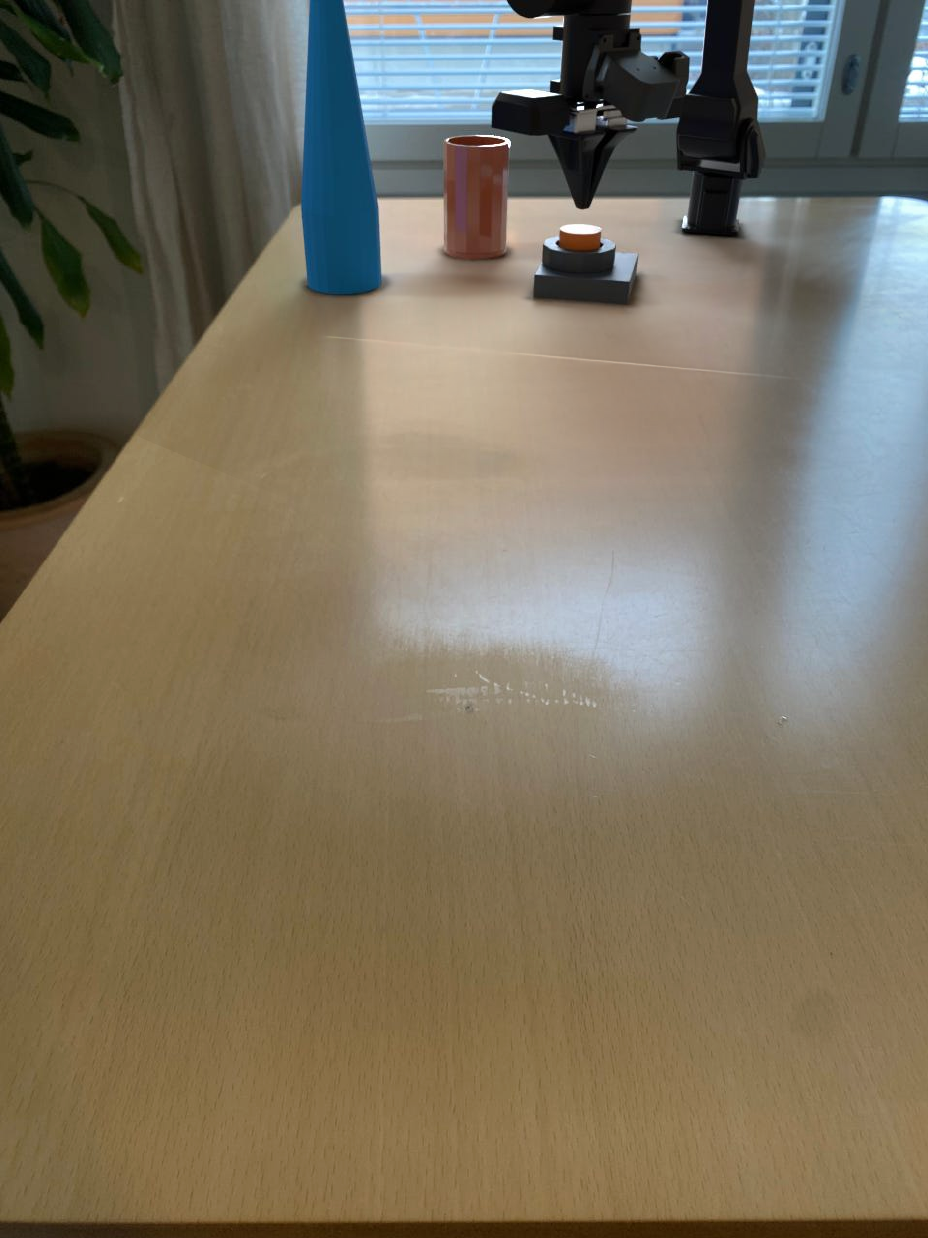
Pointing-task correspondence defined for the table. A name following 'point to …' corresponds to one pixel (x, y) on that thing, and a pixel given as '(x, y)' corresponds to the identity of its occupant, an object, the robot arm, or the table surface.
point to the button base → (585, 273)
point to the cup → (475, 196)
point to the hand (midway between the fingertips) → (582, 208)
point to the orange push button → (580, 237)
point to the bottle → (336, 164)
